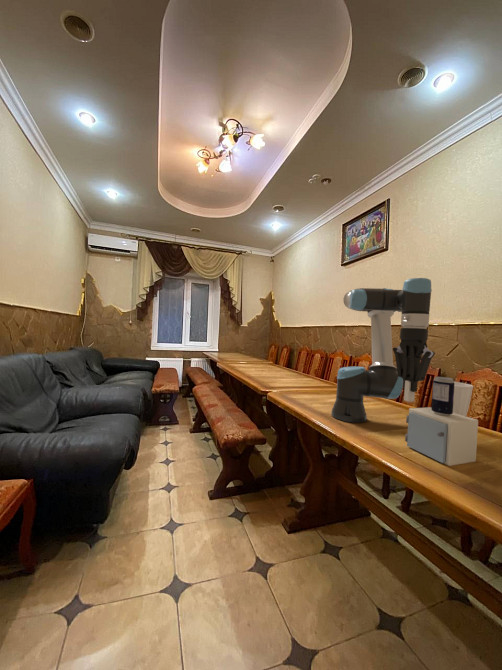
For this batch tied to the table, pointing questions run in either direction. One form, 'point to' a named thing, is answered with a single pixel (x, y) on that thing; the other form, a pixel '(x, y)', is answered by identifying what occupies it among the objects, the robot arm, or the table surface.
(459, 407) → the cup
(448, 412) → the beverage can
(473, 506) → the table surface
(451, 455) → the cabinet
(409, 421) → the door
